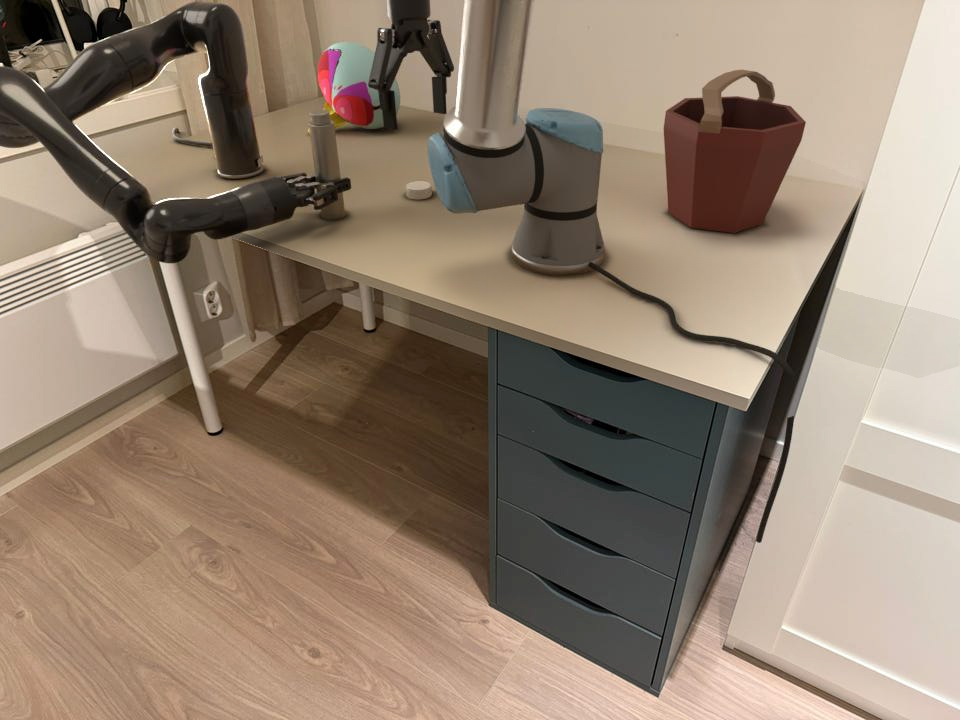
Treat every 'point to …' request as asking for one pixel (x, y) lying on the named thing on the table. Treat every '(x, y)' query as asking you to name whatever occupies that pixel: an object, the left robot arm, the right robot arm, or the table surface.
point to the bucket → (728, 154)
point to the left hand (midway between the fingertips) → (341, 179)
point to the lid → (418, 190)
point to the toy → (351, 86)
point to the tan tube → (326, 158)
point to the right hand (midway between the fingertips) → (416, 120)
